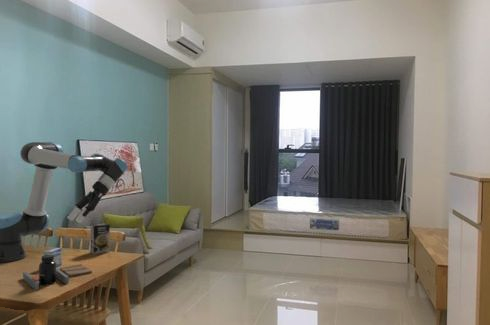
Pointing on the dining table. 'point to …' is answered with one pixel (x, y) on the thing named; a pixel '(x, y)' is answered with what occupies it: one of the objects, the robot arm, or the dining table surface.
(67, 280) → the channel
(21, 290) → the dining table surface
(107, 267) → the dining table surface
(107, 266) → the dining table surface
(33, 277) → the pad
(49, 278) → the supplement bottle
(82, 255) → the dining table surface
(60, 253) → the medicine box
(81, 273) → the walnut pad
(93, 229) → the coffee box
